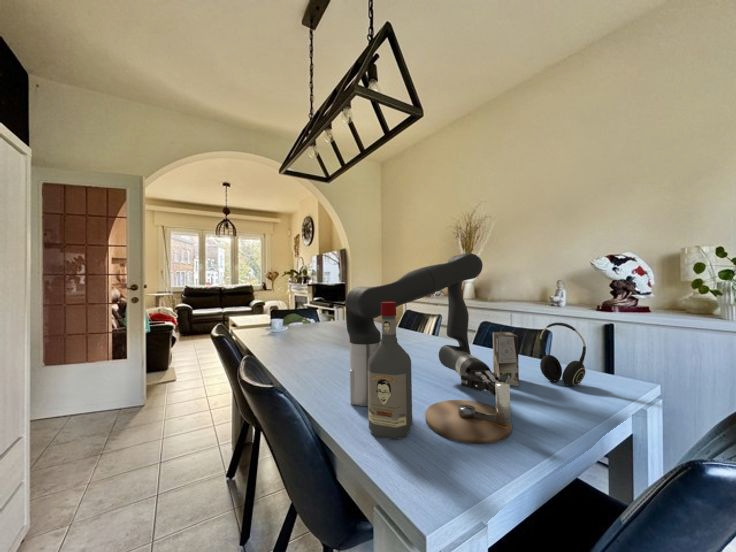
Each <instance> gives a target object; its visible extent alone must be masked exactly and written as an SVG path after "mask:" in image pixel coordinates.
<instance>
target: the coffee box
mask: <svg viewBox="0 0 736 552" xmlns="http://www.w3.org/2000/svg"><path fill="white" fill-rule="evenodd" d="M492 353H493V355H492V356H493V357H492V358H493V373H495V374H497V376H500V375H503V374H506V375H508V384H509V385H510V386H511V387H512V386H515V387H518V386H520V383H519V381H520V378H519V376H520V374H519V370H520V368H519V336H518V335H517V334H515V333H513V332H511V331H492Z"/></svg>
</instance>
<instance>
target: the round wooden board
mask: <svg viewBox="0 0 736 552" xmlns="http://www.w3.org/2000/svg"><path fill="white" fill-rule="evenodd" d="M459 405H471V406H473V407H475V411H476V412H479V413H483V414H487V415H491V416H495V417H496V406H492V405H489V404H486V403H483V402H479V401H473V400H465V399H451V400H442V401H438V402H435V403H433V404H431V405H430V406H428V407H427V408H426V410H425V416H424V417H425V423H426V424H425V425H427V427H428V428H429V429H430V430H431V431H433V432H434V433H436V434H437V435H440V436H441V437H442V438H446V439H448V440H452V441H455V442H460V443H464V444H473V445H475V444H476V445H486V444H494V443H499V442H501V441H504V440H506V439H507V438H509V436H511V434H512V432H513V431H512V430H513V429H512V425H513V424H512V420H511V418H510V424H509V425H505V426H504V425H501V424H497V423H493V422H489V421H485V420H482V419H478V418H474V417H473V418H464V417H461V416H460V415H459V414H458V406H459Z"/></svg>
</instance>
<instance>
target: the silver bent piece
mask: <svg viewBox="0 0 736 552" xmlns="http://www.w3.org/2000/svg"><path fill="white" fill-rule="evenodd" d="M510 387H511V385H509V384H508V383H505V382H496V383H495V394H496V397H495V408H496V417H495V416H491V415H487V414H483V413H479V412H476V411H475V407H473V406H471V405H459V406H458V414H459V415H460V416H461V417H464V418H473V417H474V418H478V419H482V420H485V421H489V422H493V423H497V424H501V425H504V426H505V425H509V424H510V419H511V396H510V395H511V393H510V392H511V391H510V390H511V388H510Z"/></svg>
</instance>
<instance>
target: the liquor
mask: <svg viewBox="0 0 736 552" xmlns="http://www.w3.org/2000/svg"><path fill="white" fill-rule="evenodd" d="M380 317H381V344H380V345H379V346H378V348H377V349H376V350H375V351H374V353H373V354H372V355H371V356H370V358H369V360H368V406H367V408H368V412H367V413H368V429H369V430H370V432H371V433H372V435H374V437H377V438H384V439H389V440H395V441H397V440H402V439H404V438H406V437H407V435H408V433H409V432H410V429H411V428H412V425H413V392H412V391H413V389H412V387H413V384H412V383H413V382H412V380H413V379H412V359H411V357H410V354H409V353H407V351H406V350H405V349H404V348H403V346H401V344H400V343H398V338H397V320H396V317H397V307H396V302H381V316H380Z"/></svg>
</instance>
